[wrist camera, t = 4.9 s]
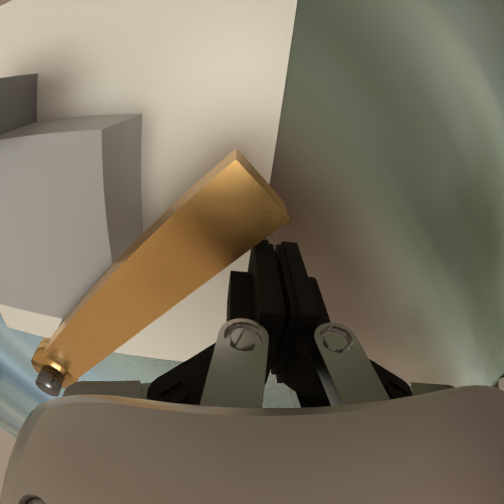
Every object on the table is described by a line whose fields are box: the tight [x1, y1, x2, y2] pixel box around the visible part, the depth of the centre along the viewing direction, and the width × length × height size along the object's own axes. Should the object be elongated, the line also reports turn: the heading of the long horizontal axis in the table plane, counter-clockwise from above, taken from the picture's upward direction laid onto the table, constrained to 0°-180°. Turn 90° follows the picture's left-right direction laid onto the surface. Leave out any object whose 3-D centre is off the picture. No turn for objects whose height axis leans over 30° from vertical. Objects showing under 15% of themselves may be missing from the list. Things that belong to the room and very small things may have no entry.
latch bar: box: [31, 148, 290, 396], centre depth 11 cm, size 18×3×3 cm, turn 130°
